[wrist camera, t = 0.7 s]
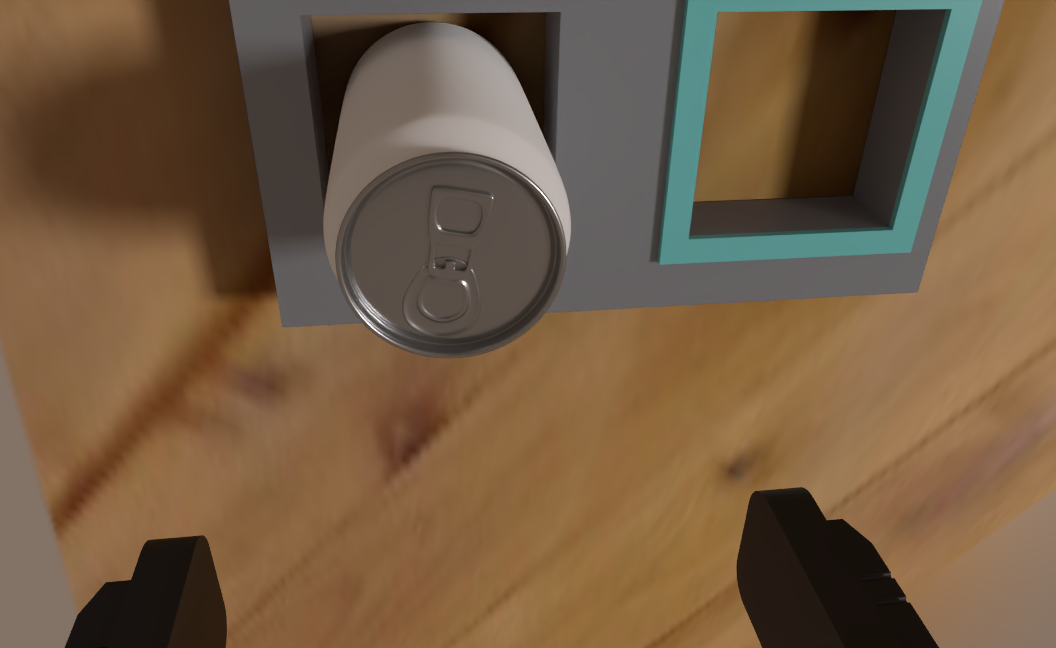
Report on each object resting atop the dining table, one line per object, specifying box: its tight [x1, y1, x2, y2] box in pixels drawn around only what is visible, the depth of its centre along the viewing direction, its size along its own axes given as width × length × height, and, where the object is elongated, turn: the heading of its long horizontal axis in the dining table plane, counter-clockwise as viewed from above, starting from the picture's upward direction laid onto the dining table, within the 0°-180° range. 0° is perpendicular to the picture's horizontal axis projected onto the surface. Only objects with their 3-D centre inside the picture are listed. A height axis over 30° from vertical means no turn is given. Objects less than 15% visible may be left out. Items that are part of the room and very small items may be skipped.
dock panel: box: [229, 0, 1004, 327], centre depth 30 cm, size 14×25×3 cm, turn 89°
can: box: [323, 22, 571, 358], centre depth 25 cm, size 6×6×12 cm
